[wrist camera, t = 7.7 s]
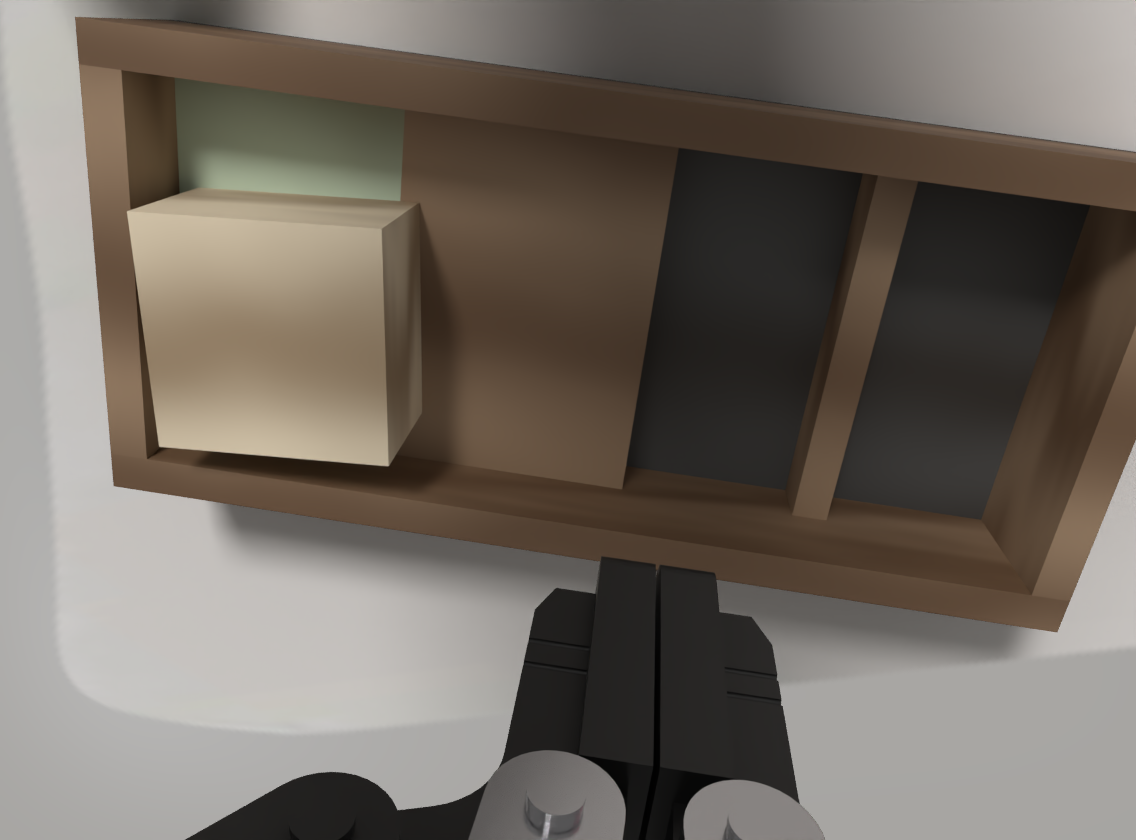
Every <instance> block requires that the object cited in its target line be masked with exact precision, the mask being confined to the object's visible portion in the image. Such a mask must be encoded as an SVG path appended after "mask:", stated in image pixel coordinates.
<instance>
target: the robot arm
mask: <svg viewBox="0 0 1136 840" xmlns="http://www.w3.org/2000/svg"><path fill="white" fill-rule="evenodd" d="M186 840H825V838H824V835H823V832H822V831H821V829H820V827H819V826H818V824H817V823H816V821H815V820H814V819H813V817H812V816H811V815H810V814H809V812H808V811H806V810H805V809H804V808H803V807H802V806H801V805H800V803H799V799H798V793H797V788H796V781H795V775H794V770H793V764H792V758H791V753H790V746H789V741H788V735H787V729H786V723H785V717H784V712H783V706H781V695H780V688H779V682H778V681H777V671H776V665H775V659H774V653H773V648H772V644H771V643H770V642H769V640H768V639H767V638H766V636H765V635H764V634H763V632H762V631H761V629H760V628H759V627H758V625H757V624H756V623H755V621H754V620H753V619H752V617H748V616H741V615H734V614H728V613H721V612H719V603H718V593H717V582H716V575H715V573H714V572H707V571H700V570H694V569H687V568H680V567H673V566H667V565H659V567H658V571H657V575H656V565H655V564H652V563H645V562H638V561H631V560H625V559H618V558H611V557H605V556H601V560H600V566H599V573H598V579H597V586H596V592H595V594H593V593H586V592H579V591H573V590H566V589H559V588H556V589H555V590H554V591H553V592H552V593H551V594H550V595H549V596H548V597H547V598H546V599H545V600H544V601H543V602H542V603H541V604H540V605H539V606H538V607H537V608H536V609H535V612H534V617H533V622H532V626H531V631H530V636H529V642H528V645H527V650H526V655H525V659H524V665H523V669H522V673H521V678H520V683H519V687H518V692H517V697H516V701H515V706H514V711H513V715H512V720H511V725H510V729H509V734H508V739H507V743H506V748H505V753H504V756H503V759H502V762H501V764H500V766H499V768H498V769H497V770H496V771H495V772H494V774H493V775H492V777H491V778H490V779H489V781H488V782H487V783H486V784H484V785H483V786H482V787H481V788H480V789H478V790H477V791H475V792H473V793H472V794H470V795H468V796H466V797H464V798H462V799H459V800H457V801H454V802H450V803H448V804H442V805H437V806H431V807H423V808H414V809H406V810H398V811H397V808H396V806H395V804H394V802H393V801H392V799H391V798H390V797H389V795H388V794H387V793H386V792H385V791H384V790H382V789H381V788H380V787H379V786H378V785H376V784H375V783H373V782H371V781H369V780H368V779H365V778H362V777H360V776H357V775H352V774H347V773H339V772H326V773H316V774H311V775H306V776H303V777H300V778H297V779H294V780H292V781H290V782H288V783H285V784H283V785H281V786H279V787H278V788H276V789H274V790H273V791H271V792H269V793H267V794H265V795H264V796H262V797H260V798H258V799H256V800H255V801H253V802H251V803H249V804H248V805H246V806H244V807H243V808H240V809H239V810H237V811H235V812H233V813H232V814H230V815H228V816H226V817H225V818H223V819H221V820H219V821H218V822H216V823H214V824H212V825H210V826H209V827H207V828H205V829H203V830H202V831H200V832H198V833H196V834H195V835H193V836H191V837H189V838H187V839H186Z"/></svg>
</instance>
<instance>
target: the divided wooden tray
mask: <svg viewBox="0 0 1136 840" xmlns="http://www.w3.org/2000/svg"><path fill="white" fill-rule="evenodd" d="M75 21H76V33H77V46H78V58H79V70H80V82H81V94H82V106H83V118H84V131H85V143H86V155H87V167H88V179H89V191H90V203H91V215H92V228H93V240H94V252H95V264H96V276H97V288H98V300H99V312H100V325H101V337H102V349H103V361H104V373H105V385H106V397H107V409H108V422H109V434H110V446H111V458H112V470H113V482H114V486H117V487H123V488H130V489H136V490H142V491H149V492H155V493H162V494H168V495H175V496H181V497H188V498H194V499H200V500H207V501H213V502H220V503H226V504H233V505H239V506H246V507H252V508H258V509H265V510H271V511H278V512H284V513H291V514H297V515H304V516H310V517H317V518H323V519H329V520H336V521H342V522H349V523H355V524H362V525H368V526H375V527H381V528H387V529H394V530H400V531H407V532H413V533H420V534H426V535H433V536H439V537H445V538H452V539H458V540H465V541H471V542H478V543H484V544H491V545H497V546H503V547H510V548H516V549H523V550H529V551H536V552H542V553H549V554H555V555H562V556H568V557H574V558H581V559H587V560H594V561H600V560H601V556H605V557H611V558H618V559H625V560H631V561H638V562H645V563H652V564H655V565H656V570H658V567H659V565H667V566H673V567H680V568H687V569H694V570H700V571H707V572H714V573H715V575H716V580H723V581H729V582H736V583H742V584H748V585H755V586H761V587H768V588H774V589H781V590H787V591H794V592H800V593H807V594H813V595H819V596H826V597H832V598H839V599H845V600H852V601H858V602H865V603H871V604H877V605H884V606H890V607H897V608H903V609H910V610H916V611H923V612H929V613H935V614H942V615H948V616H955V617H961V618H968V619H974V620H981V621H987V622H993V623H1000V624H1006V625H1013V626H1019V627H1026V628H1032V629H1039V630H1045V631H1052V632H1057V631H1058V629H1059V627H1060V624H1061V622H1062V619H1063V617H1064V614H1065V612H1066V609H1067V607H1068V604H1069V602H1070V600H1071V597H1072V595H1073V592H1074V590H1075V587H1076V585H1077V582H1078V580H1079V577H1080V575H1081V573H1082V570H1083V568H1084V565H1085V563H1086V560H1087V558H1088V555H1089V553H1090V550H1091V548H1092V546H1093V543H1094V541H1095V538H1096V536H1097V533H1098V531H1099V528H1100V526H1101V523H1102V521H1103V519H1104V516H1105V514H1106V511H1107V509H1108V506H1109V504H1110V501H1111V499H1112V496H1113V494H1114V492H1115V489H1116V487H1117V484H1118V482H1119V479H1120V477H1121V474H1122V472H1123V469H1124V467H1125V465H1126V462H1127V460H1128V457H1129V455H1130V452H1131V450H1132V447H1133V445H1134V443H1135V440H1136V152H1131V151H1124V150H1117V149H1109V148H1102V147H1095V146H1087V145H1080V144H1073V143H1066V142H1058V141H1051V140H1044V139H1036V138H1029V137H1022V136H1015V135H1007V134H1000V133H993V132H985V131H978V130H971V129H963V128H956V127H949V126H942V125H934V124H927V123H920V122H912V121H905V120H898V119H890V118H883V117H876V116H869V115H861V114H854V113H847V112H839V111H832V110H825V109H817V108H810V107H803V106H796V105H788V104H781V103H774V102H766V101H759V100H752V99H745V98H737V97H730V96H723V95H715V94H708V93H701V92H693V91H686V90H679V89H672V88H664V87H657V86H650V85H642V84H635V83H628V82H620V81H613V80H606V79H599V78H591V77H584V76H577V75H569V74H562V73H555V72H547V71H540V70H533V69H526V68H518V67H511V66H504V65H496V64H489V63H482V62H474V61H467V60H460V59H453V58H445V57H438V56H431V55H423V54H416V53H409V52H402V51H394V50H387V49H380V48H372V47H365V46H358V45H350V44H343V43H336V42H329V41H321V40H314V39H307V38H299V37H292V36H285V35H277V34H270V33H263V32H256V31H248V30H241V29H234V28H226V27H219V26H212V25H204V24H197V23H190V22H183V21H175V20H154V19H121V18H88V17H75ZM198 187H199V188H214V189H229V190H244V191H258V192H273V193H288V194H303V195H318V196H333V197H348V198H363V199H378V200H393V201H408V202H419V209H420V284H421V359H422V414H421V415H420V417H419V418H418V420H417V422H416V423H415V425H414V427H413V428H412V430H411V431H410V433H409V435H408V436H407V438H406V439H405V441H404V443H403V444H402V446H401V447H400V449H399V451H398V452H397V454H396V455H395V457H394V459H393V460H392V462H391V463H390V465H389V466H378V465H366V464H355V463H343V462H331V461H320V460H308V459H296V458H285V457H273V456H261V455H249V454H238V453H226V452H214V451H203V450H191V449H179V448H168V447H159V442H158V435H157V427H156V420H155V413H154V405H153V398H152V391H151V384H150V376H149V369H148V362H147V354H146V347H145V340H144V333H143V325H142V318H141V311H140V304H139V296H138V289H137V282H136V274H135V267H134V260H133V253H132V245H131V238H130V231H129V223H128V216H127V211H129V210H132V209H135V208H138V207H141V206H144V205H147V204H150V203H153V202H156V201H159V200H162V199H165V198H168V197H171V196H174V195H177V194H180V193H183V192H186V191H189V190H192V189H195V188H198Z"/></svg>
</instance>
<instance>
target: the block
mask: <svg viewBox="0 0 1136 840" xmlns="http://www.w3.org/2000/svg"><path fill="white" fill-rule="evenodd" d="M127 216H128V223H129V231H130V238H131V245H132V253H133V260H134V267H135V274H136V282H137V289H138V296H139V304H140V311H141V318H142V325H143V333H144V340H145V347H146V354H147V362H148V369H149V376H150V384H151V391H152V398H153V405H154V413H155V420H156V427H157V435H158V442H159V447H168V448H179V449H191V450H203V451H214V452H226V453H238V454H249V455H261V456H273V457H285V458H296V459H308V460H320V461H331V462H343V463H355V464H366V465H378V466H389V465H390V463H391V462H392V460H393V459H394V457H395V455H396V454H397V452H398V451H399V449H400V447H401V446H402V444H403V443H404V441H405V439H406V438H407V436H408V435H409V433H410V431H411V430H412V428H413V427H414V425H415V423H416V422H417V420H418V418H419V417H420V415H421V414H422V359H421V284H420V209H419V202H408V201H393V200H378V199H363V198H348V197H333V196H318V195H303V194H288V193H273V192H258V191H244V190H229V189H214V188H199V187H198V188H195V189H192V190H189V191H186V192H183V193H180V194H177V195H174V196H171V197H168V198H165V199H162V200H159V201H156V202H153V203H150V204H147V205H144V206H141V207H138V208H135V209H132V210H129V211H127Z"/></svg>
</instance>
